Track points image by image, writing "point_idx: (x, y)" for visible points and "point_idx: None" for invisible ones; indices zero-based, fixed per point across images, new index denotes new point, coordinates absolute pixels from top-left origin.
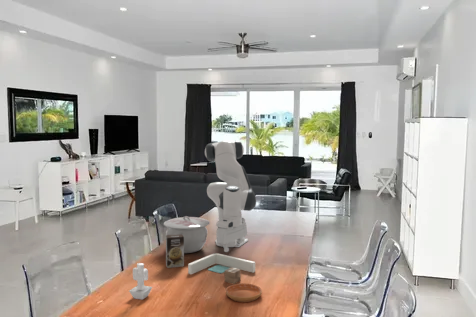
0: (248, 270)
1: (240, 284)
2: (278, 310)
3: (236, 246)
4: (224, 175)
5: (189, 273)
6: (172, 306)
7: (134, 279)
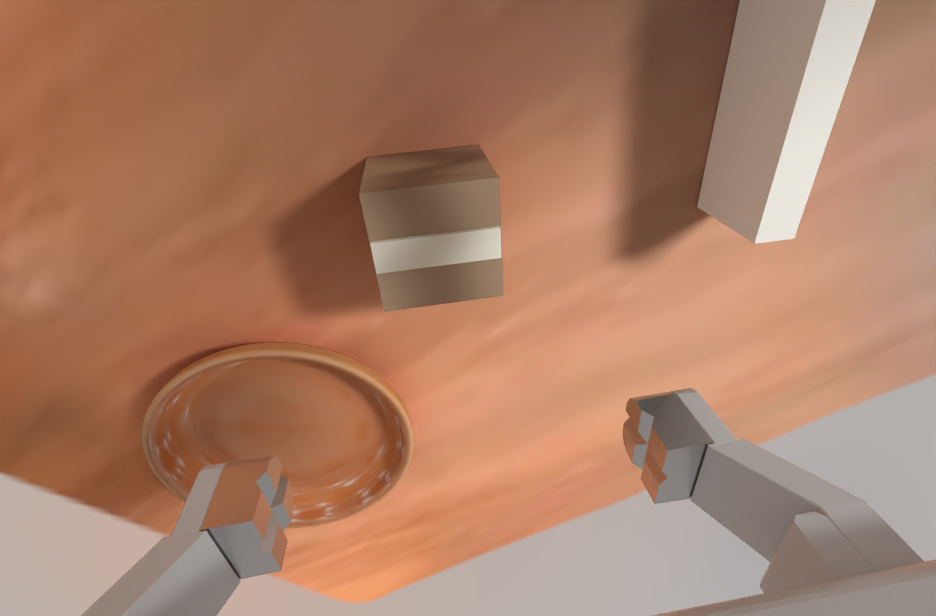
0: (713, 158)
1: (350, 373)
2: (315, 578)
3: (632, 410)
4: None
5: None
6: None
7: None
